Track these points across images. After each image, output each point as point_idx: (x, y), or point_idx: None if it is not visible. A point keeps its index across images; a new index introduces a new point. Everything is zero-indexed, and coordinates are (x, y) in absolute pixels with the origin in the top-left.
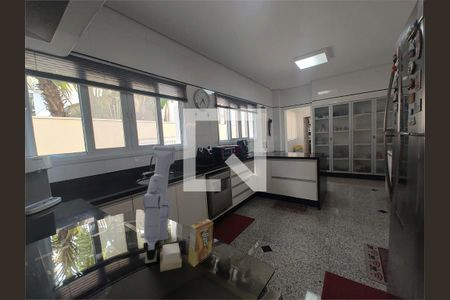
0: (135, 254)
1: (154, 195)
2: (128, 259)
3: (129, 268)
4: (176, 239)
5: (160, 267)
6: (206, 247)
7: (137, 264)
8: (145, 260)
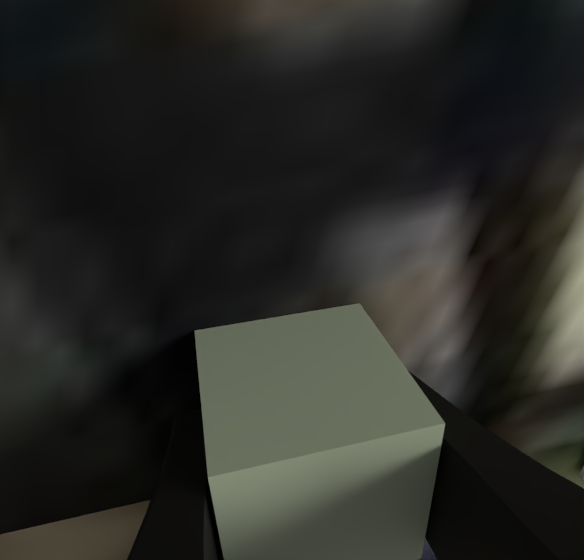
0: (468, 130)
1: None
2: (373, 12)
3: (92, 88)
4: None
5: (38, 552)
6: None
7: (190, 219)
8: (199, 364)
